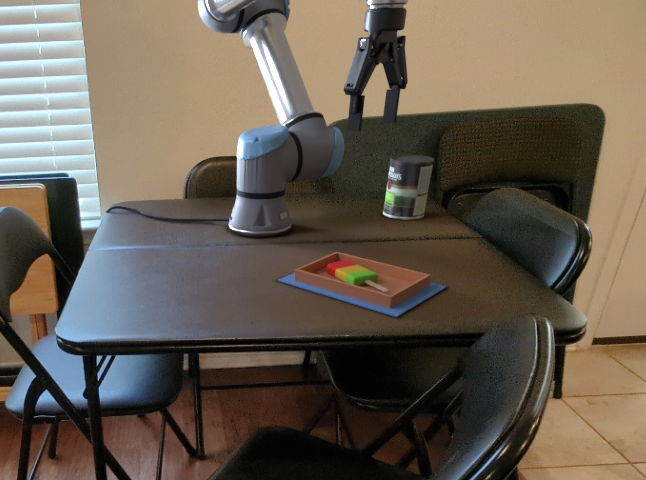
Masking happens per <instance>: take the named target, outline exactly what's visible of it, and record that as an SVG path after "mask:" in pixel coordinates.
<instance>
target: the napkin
mask: <svg viewBox="0 0 646 480" xmlns="http://www.w3.org/2000/svg"><path fill="white" fill-rule="evenodd" d="M294 275H295V272H293V273H291V274H288V275H285V276H284V277H281V278H279V279H277V281H278V282H280V283H283V284H286V285H289V286H293V287H295V288H299V289H302V290H304V291H309V292H312V293H316V294H318V295H322V296H325V297H328V298H332V299H334V300H335V299H336V300H338V301H341V302H345V303H348V304H351V305H355V306H357V307H360V308H364V309H367V310H371V311H374V312H377V313H380V314H383V315H386V316H390V317H393V318H399V317H401V316H402V315H404V314H405V313H407V312H408V311H410V310H412V309H414V308H415V307H417V306H419V305H420V304H422V303H424V302H425V301H427V300H429V299H430V298H432V297H433V296H435V295H437V294H438V293H440V292H441V291H443V290H445V289H447V286H446V285H443V284H439V283H436V282H435V283H434V282H431V281H430V284H429V286H428V287H426V288H425V289H423V290H421V291H420V292H418V293H416V294H414V295H413V296H411V297H409V298H407V299H406V300H404V301H402V302H401V303H399V304H397V305H395V306H394V307H392V308H390V309H389V308H386V307H382V306H379V305H376V304H372V303H369V302H366V301H362V300H359V299H356V298H352V297H349V296H345V295H342V294H339V293H335V292H332V291H329V290H325V289H322V288H319V287H315V286H312V285H309V284H305V283H302V282H299V281H295V280H294Z"/></svg>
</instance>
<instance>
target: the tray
mask: <svg viewBox="0 0 646 480" xmlns="http://www.w3.org/2000/svg"><path fill="white" fill-rule="evenodd" d="M344 260H347V261H351V262H353V263H355V264H357V265H360V266H362V267H364V268H366V269H368V270H370V271H372V272H375V273H377V274H378V281H377V282H374V283H376V284H378V285H380V286H382V287H384V288H386V289H388V292H383V291H381V290H379V289H377V288H375V287H373V286H371V285H369V284H365V285H360V286H356V285H353V284H349V283H346V282H343V281H341V280H339V279H338V278H336V277H334V276H332V275H330V274H328V273H327V265H328V264H329V263H333V262H338V261H344ZM294 273H295V275H294V280H295V281H299V282H302V283H305V284H309V285H312V286H315V287H319V288H322V289H325V290H329V291H332V292H335V293H339V294H342V295H345V296H349V297H352V298H356V299H359V300H362V301H366V302H369V303H372V304H376V305H379V306H382V307H386V308H389V309H390V308H392V307H394V306H395V305H397V304H399V303H401V302H402V301H404V300H406V299H407V298H409V297H411V296H413V295H414V294H416V293H418V292H420V291H421V290H423V289H425V288H426V287H428V286H429V284H430V282H431V278H432V274H429V273H426V272H422V271H418V270H413V269H409V268H405V267H401V266H397V265H393V264H390V263H385V262H380V261H377V260H373V259H369V258H364V257H360V256H356V255H352V254H349V253H345V252H340V251H335V252H333V253H330V254H328V255H326V256H323V257H320V258H319V259H316V260H314V261H311V262H309V263H307V264H304V265H302V266H299V267H297V268H295V269H294Z"/></svg>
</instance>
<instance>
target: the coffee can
mask: <svg viewBox="0 0 646 480" xmlns="http://www.w3.org/2000/svg"><path fill="white" fill-rule="evenodd" d="M434 163H435V158H434V157H431V156H428V155H421V154H398V155H393V156H390V158H389V169H388V176H387V184H386V192H385V198H384V203H383V210H382V215H383V216H384V217H387V218H390V219H393V220H394V219H395V220H403V221H413V220H420V219H422V218H424V217H425V212H426V205H427V201H428V194H429V188H430V182H431V177H432V172H433V167H434Z"/></svg>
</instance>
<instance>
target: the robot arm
mask: <svg viewBox="0 0 646 480" xmlns="http://www.w3.org/2000/svg"><path fill="white" fill-rule="evenodd" d="M290 2H291V1H290V0H197V10H198V15H199V17H200V19H201V21H202V22H203V24H204V25H205V26H206V27H207V28H208V29H209V30H211V31H213V32H215V33H219V34H222V35H223V34H239V35H240V38H241V40H242V43H243V45H244V46H245V47H246V48H248V49H251V50H252V52H253V55H254V58H255V60H256V64H257V66H258V69H259V71H260V73H261V76H262V79H263V82H264V85H265V88H266V90H267V93H268V95H269V99H270V101H271V104H272V107H273V109H274V111H275V115H276V117H277V119H278V122H279V124H273V125H263V126H257V127H254V128H250V129H248V130H245V131H243V132H242V133H241V134H239V135H240V136H239V137H238V139H237V148H236V154H235V155H236V198H235V200H234V204H233V206H232V211H231V214H230V217H229V218H221V217H220V218H219V217H218V218H176V217H166V216H159V215H155V214H151V213H148V212H145V211H143V210H141V209H138V208H132V207H128V206H123V205H114V206H111V207H109V208H107V210H106V211H105V213H110V212H111V211H112V210H117V209H119V210H125V211H129V212H136V213H140V214H142V215H143V216H145V217H148V218H152V219H155V220H162V221H168V222H169V221H170V222H183V223H184V222H185V223H186V222H188V223H189V222H193V223H194V222H200V223H202V222H207V223H208V222H228V231H230V232H231V233H233V234H235V235H238V236H242V237H247V238H248V237H249V238H273V237H278V236H283V235H285V234H288V233H289V232H290V231H291V230H292V220H291V219H292V218H291V216H290V213H289V209H288V204H287V201H286V200H287V199H286V186H287V183H294V182H301V181H307V180H319V179H321V178H325V177H329V176H331V175H333V174H334V173H336V172H337V170H338V168H339V167H340V166H341V164H342V161H343V157H344V152H345V140H344V136H343V133H342V131H341V129H339V127H335V126H333V125H328V124H327V122H326V120H325V117H324V115H323V113H322V112H321V111H318V110H315V109H314V106H313V104H312V100H311V99H310V96H309V93H308V91H307V88H306V86H305V83H304V79H303V77H302V75H301V72H300V70H299V67H298V65H297V62H296V59H295V57H294V53H293V51H292V49H291V46H290V44H289V41H288V38H287V36H286V33H285V31H286V30H287V26H288V21H289V18H290V14H291V8H289V6H290V5H291V3H290ZM408 2H409V0H366V1H365V6H366V7H368V9H366V11H365V12H364V22H363V31H364V32H366V33H368V36H365V37H364V36H363V37H358V38H357V44H356V50H355V53H354V57H353V59H352V62H351V66H350V68H349V71H348V73H347V74H348V75H347V77H346V80H345V82H344V85H343V92H344V95H346V96H349V103H348V104H349V106H348V117H347V126H346V131H349V132H361V131H362V125H363V117H364V107H365V97H366V95H365V94H363V93H364V91H365V89H366V87H367V85H368V84H369V81H370V79H371V77H372V75H373V73H374V71H375V69H376V68H377V66H379V65H380V64H382V66H383V67H382V68H383V71H384V73H385V77H386V81H387V84H388V88H389V89H386V92H385V99H384V107H383V115H382V122H381V123H382V124H391V125H395V124H397V118H398V117H397V116H398V109H399V103H400V96H401V95H400V94H401V90H406V89H407V85H408V82H409V79H408V66H407V56H406V41H407V39H406V38H407V36H406V35H404V34H403V35H398V32H399V31H403V30H404V29H405V26H406V19H407V12H408V10H407V8H406V7H405V5H407V4H408Z"/></svg>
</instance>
